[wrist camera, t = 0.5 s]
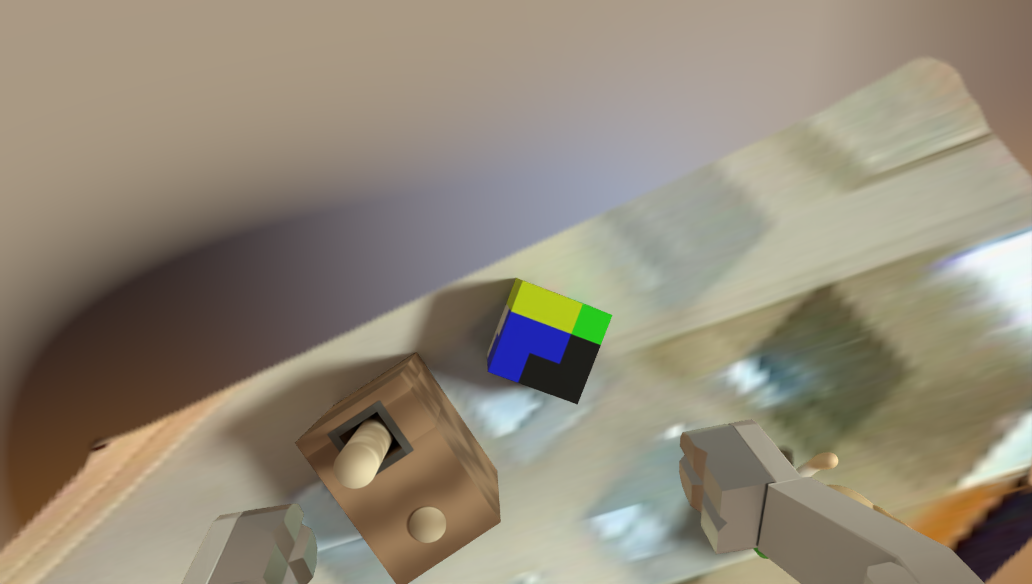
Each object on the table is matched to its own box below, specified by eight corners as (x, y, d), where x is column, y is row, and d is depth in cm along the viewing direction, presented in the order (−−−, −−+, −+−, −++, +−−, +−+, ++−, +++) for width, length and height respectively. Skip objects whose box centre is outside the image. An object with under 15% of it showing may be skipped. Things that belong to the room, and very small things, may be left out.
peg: (405, 427, 53) (384, 473, 42) (378, 446, 53) (349, 496, 42) (387, 400, 53) (360, 439, 41) (359, 419, 53) (324, 462, 41)
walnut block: (497, 470, 61) (500, 523, 49) (416, 524, 60) (399, 590, 48) (416, 351, 59) (399, 375, 47) (332, 406, 59) (293, 444, 47)
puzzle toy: (487, 353, 60) (487, 371, 50) (516, 277, 60) (522, 280, 50) (562, 380, 61) (577, 404, 51) (591, 306, 60) (612, 315, 50)
